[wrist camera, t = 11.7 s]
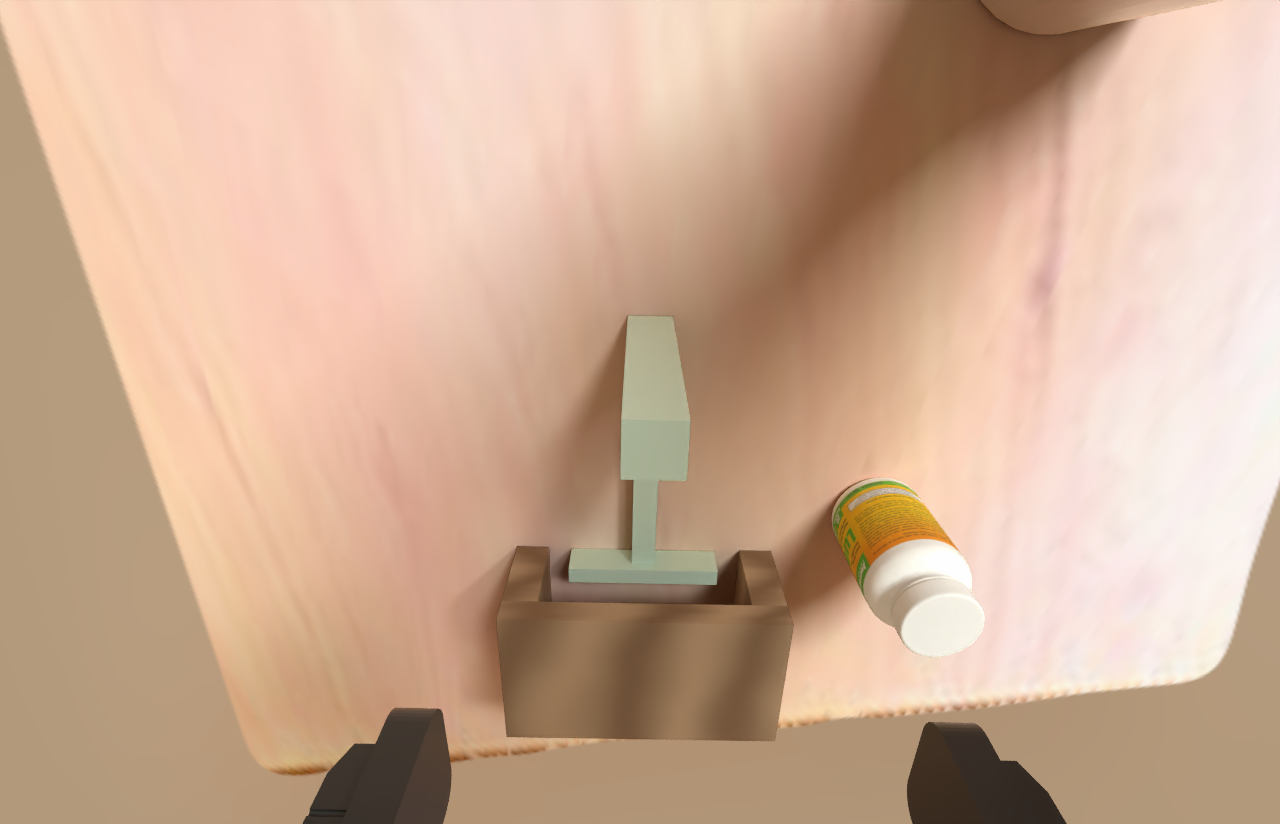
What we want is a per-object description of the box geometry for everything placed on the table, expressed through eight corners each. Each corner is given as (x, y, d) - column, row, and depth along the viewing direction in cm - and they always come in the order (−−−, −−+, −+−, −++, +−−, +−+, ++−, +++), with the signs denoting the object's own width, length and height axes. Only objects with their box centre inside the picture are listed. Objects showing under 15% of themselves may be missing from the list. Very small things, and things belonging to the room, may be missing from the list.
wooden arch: (770, 551, 40) (793, 625, 34) (756, 657, 44) (774, 741, 38) (517, 546, 40) (496, 619, 34) (524, 653, 44) (506, 737, 38)
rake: (734, 317, 34) (785, 422, 22) (713, 564, 40) (743, 746, 29) (565, 313, 34) (525, 417, 22) (572, 561, 40) (544, 743, 29)
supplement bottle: (817, 495, 38) (870, 606, 30) (904, 461, 37) (986, 565, 29) (845, 560, 40) (902, 682, 32) (928, 529, 39) (1011, 647, 31)
